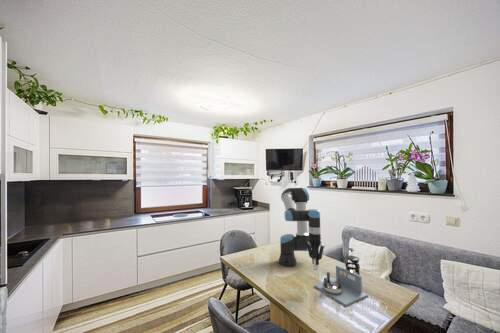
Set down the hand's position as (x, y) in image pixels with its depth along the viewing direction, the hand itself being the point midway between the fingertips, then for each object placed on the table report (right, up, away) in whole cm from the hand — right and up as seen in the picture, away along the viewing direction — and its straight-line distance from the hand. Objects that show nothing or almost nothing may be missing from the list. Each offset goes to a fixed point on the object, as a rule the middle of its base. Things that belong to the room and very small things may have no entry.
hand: (315, 269), depth 132 cm
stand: (+14, -12, -4) cm, 19 cm away
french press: (+29, -13, +7) cm, 32 cm away
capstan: (+9, -11, -4) cm, 15 cm away
